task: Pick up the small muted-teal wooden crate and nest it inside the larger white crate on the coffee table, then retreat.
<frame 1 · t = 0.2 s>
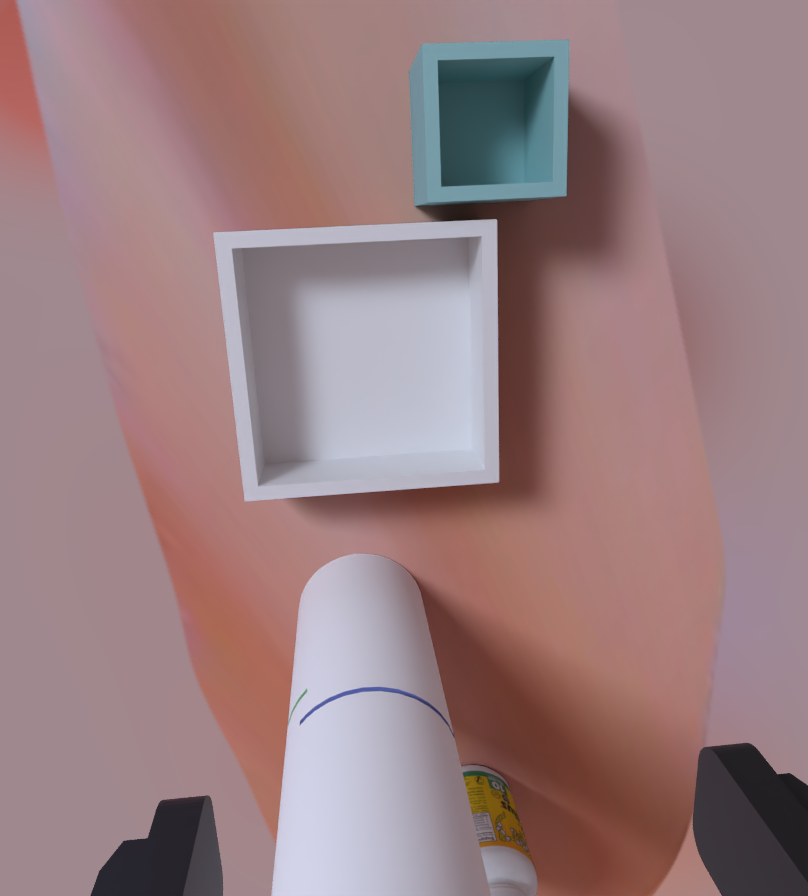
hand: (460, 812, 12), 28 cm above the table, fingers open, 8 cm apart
supplement bottle: (468, 794, 47), on the table
teal crate: (473, 138, 35), on the table
white crate: (362, 350, 38), on the table
cylindrical container: (361, 608, 42), on the table
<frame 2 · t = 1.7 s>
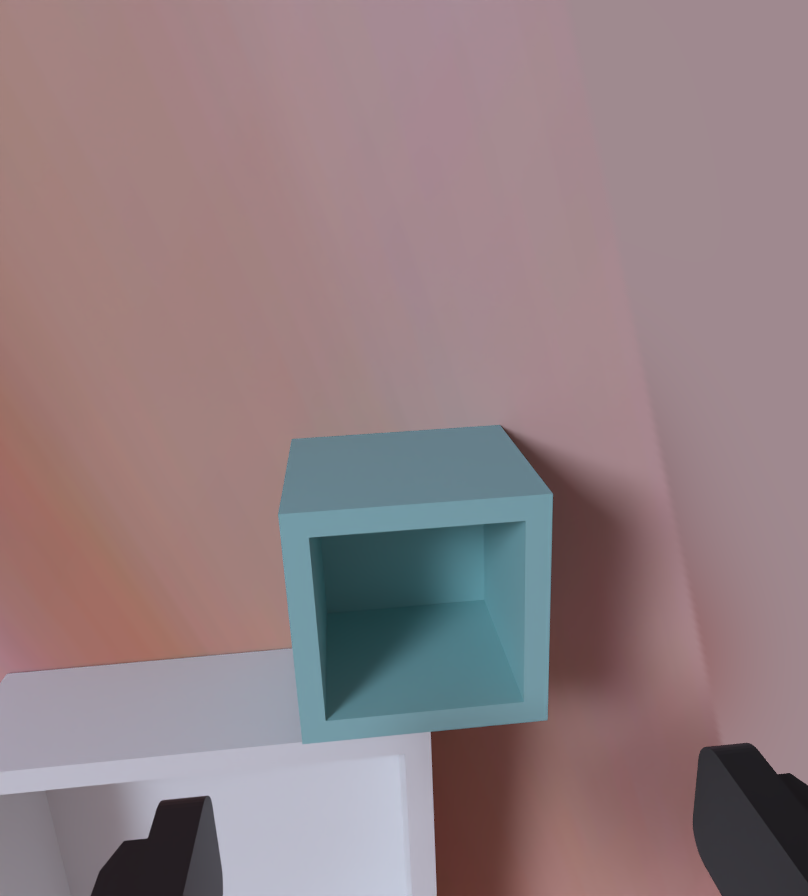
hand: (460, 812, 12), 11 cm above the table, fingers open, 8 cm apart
teal crate: (401, 526, 22), on the table
white crate: (237, 813, 25), on the table
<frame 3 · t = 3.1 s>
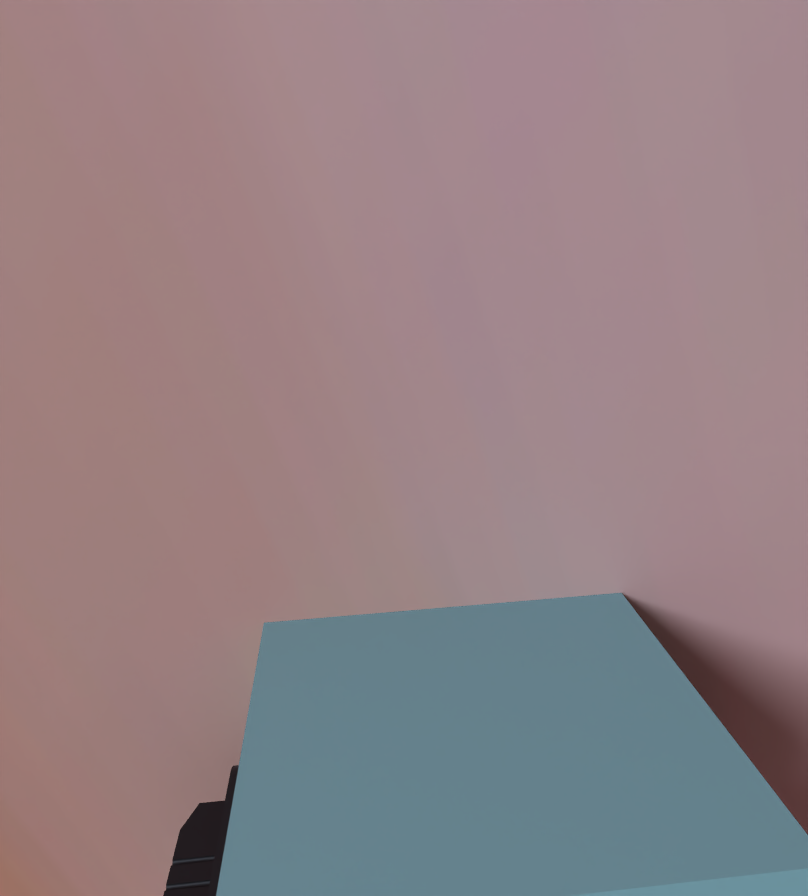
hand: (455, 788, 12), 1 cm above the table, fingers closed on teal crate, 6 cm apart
teal crate: (450, 756, 13), on the table, touching gripper
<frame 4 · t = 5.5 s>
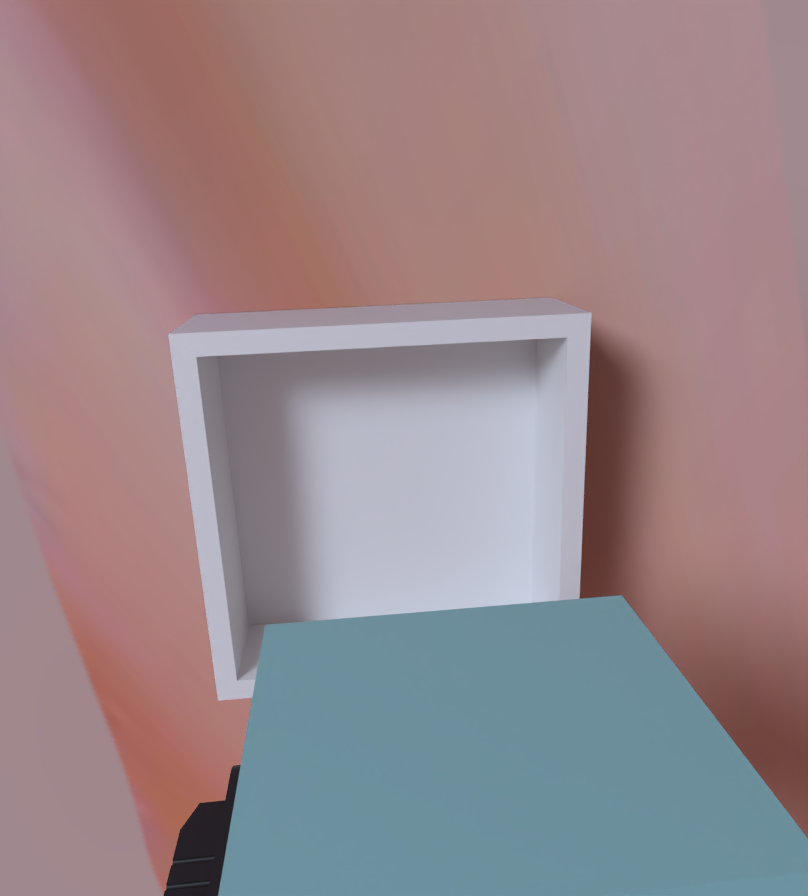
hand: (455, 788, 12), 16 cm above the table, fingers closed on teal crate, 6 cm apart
teal crate: (450, 758, 13), point 15 cm above the table, touching gripper
white crate: (384, 473, 27), on the table
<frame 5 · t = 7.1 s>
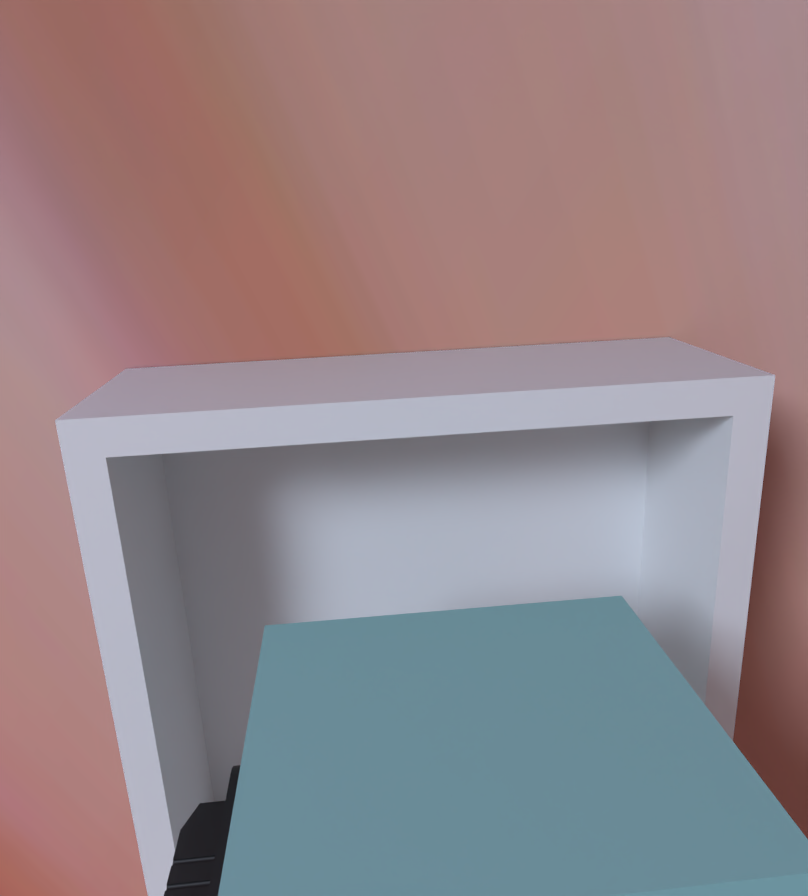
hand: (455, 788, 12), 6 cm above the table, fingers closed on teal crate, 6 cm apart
teal crate: (450, 758, 13), point 6 cm above the table, touching gripper
white crate: (415, 595, 18), on the table
when the fingers open (4 cm above the table, at t = 8.2 s): teal crate drops 3 cm, resting on white crate.
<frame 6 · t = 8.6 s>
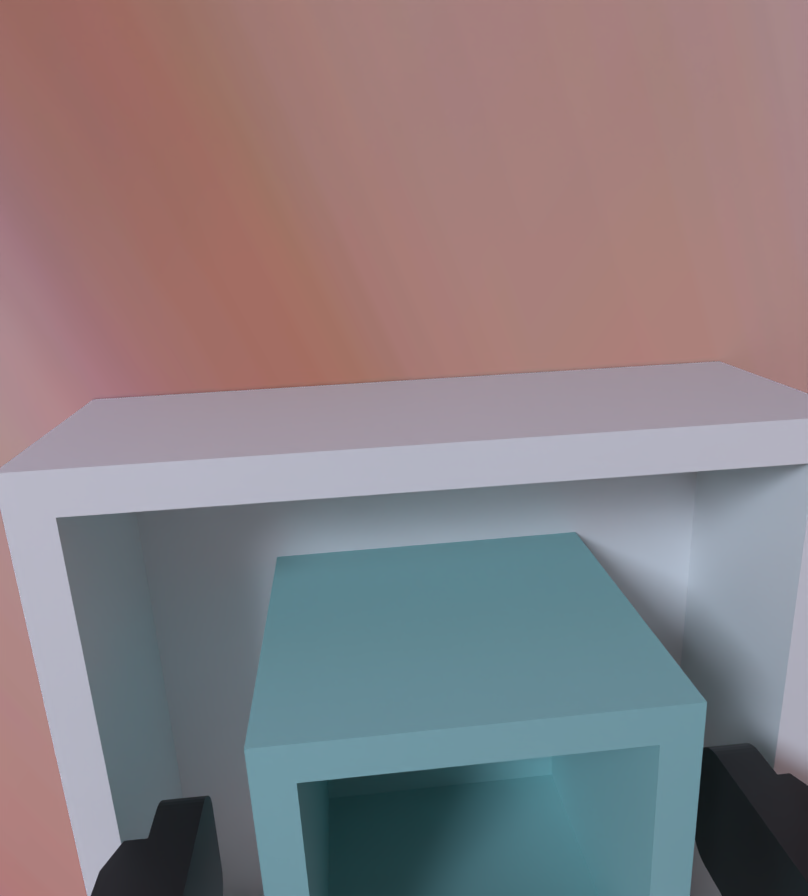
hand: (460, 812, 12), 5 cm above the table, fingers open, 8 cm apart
teal crate: (433, 673, 15), point 1 cm above the table, touching white crate
white crate: (426, 653, 16), on the table
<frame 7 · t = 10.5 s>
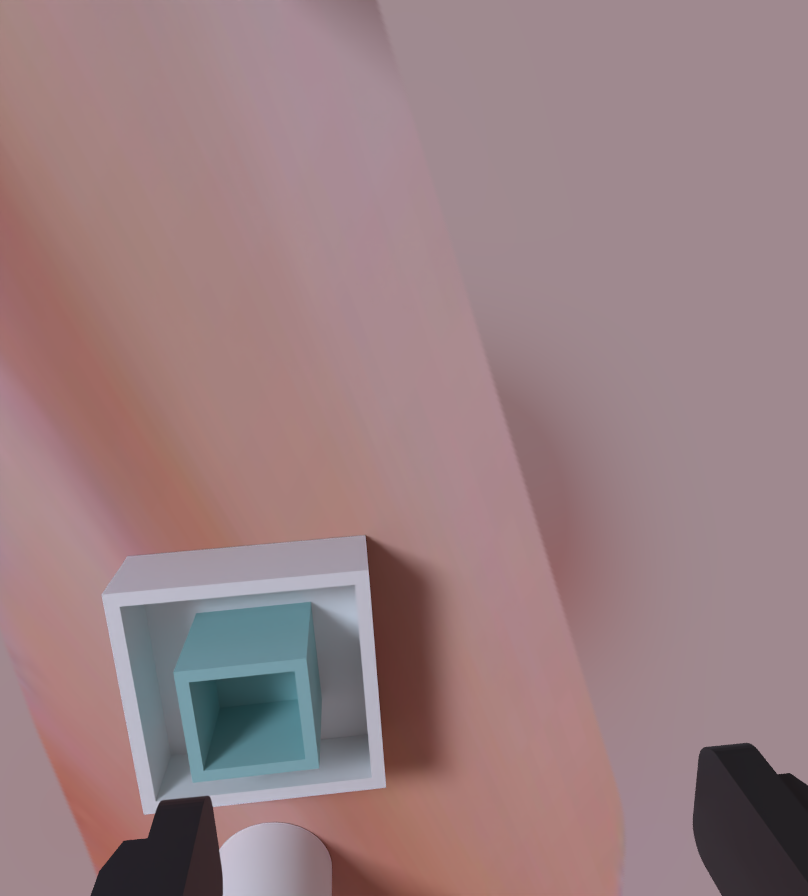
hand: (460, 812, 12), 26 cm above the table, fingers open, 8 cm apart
teal crate: (260, 657, 39), point 1 cm above the table, touching white crate
white crate: (261, 650, 40), on the table
cylindrical container: (273, 868, 44), on the table
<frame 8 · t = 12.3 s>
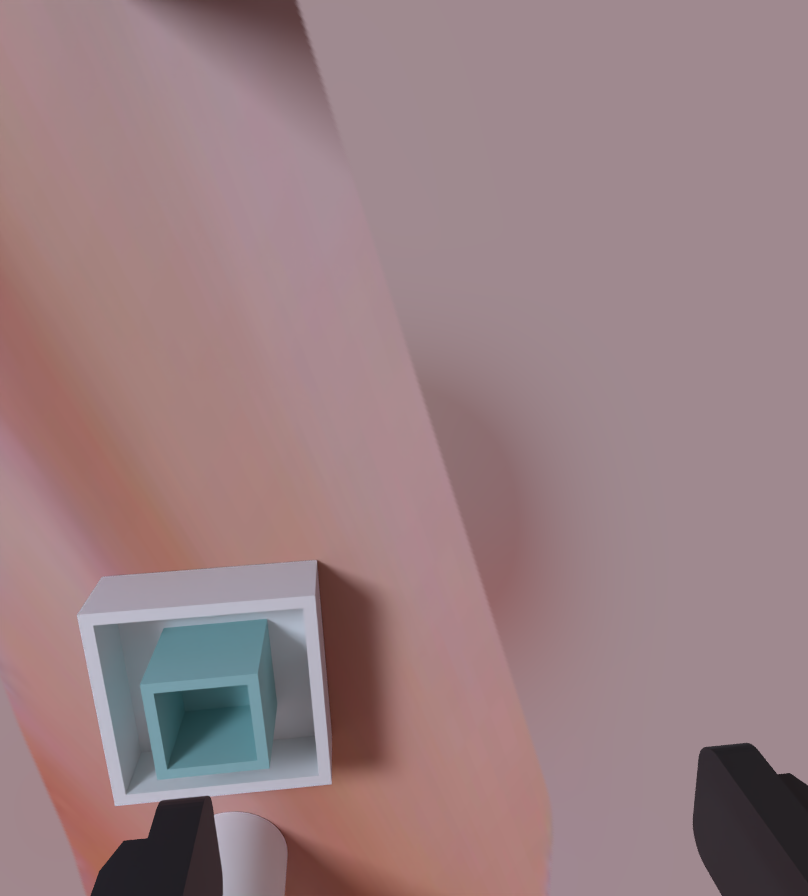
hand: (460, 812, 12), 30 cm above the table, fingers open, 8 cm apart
teal crate: (221, 667, 44), point 1 cm above the table, touching white crate
white crate: (222, 660, 45), on the table
cylindrical container: (234, 852, 49), on the table
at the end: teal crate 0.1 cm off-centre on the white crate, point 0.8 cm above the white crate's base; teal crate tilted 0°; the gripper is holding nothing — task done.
